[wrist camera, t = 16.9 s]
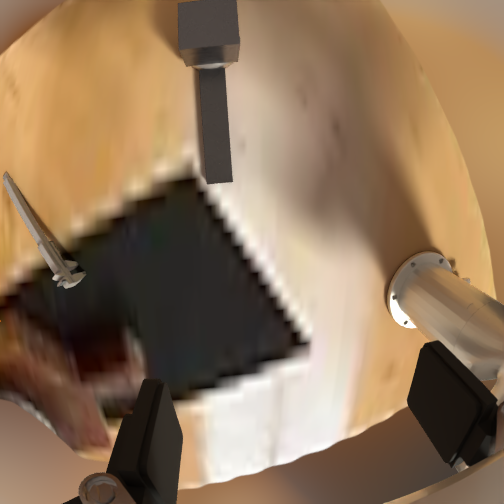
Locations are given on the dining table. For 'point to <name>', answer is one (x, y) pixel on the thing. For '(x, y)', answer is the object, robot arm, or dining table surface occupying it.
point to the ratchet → (215, 122)
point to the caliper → (43, 240)
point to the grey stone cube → (208, 32)
